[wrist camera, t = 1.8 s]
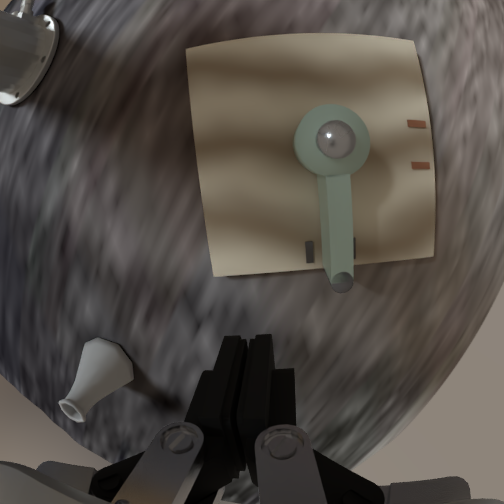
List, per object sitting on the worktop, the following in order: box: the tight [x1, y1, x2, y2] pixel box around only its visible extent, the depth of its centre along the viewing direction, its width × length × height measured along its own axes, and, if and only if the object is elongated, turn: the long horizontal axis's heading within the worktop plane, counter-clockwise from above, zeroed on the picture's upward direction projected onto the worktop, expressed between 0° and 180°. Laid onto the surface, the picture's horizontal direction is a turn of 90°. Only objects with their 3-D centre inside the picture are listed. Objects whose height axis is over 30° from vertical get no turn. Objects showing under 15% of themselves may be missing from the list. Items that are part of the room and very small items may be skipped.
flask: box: [59, 338, 134, 422], centre depth 26 cm, size 7×7×10 cm
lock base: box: [186, 33, 435, 277], centre depth 21 cm, size 20×20×2 cm
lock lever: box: [293, 104, 370, 293], centre depth 19 cm, size 13×5×5 cm, turn 6°
